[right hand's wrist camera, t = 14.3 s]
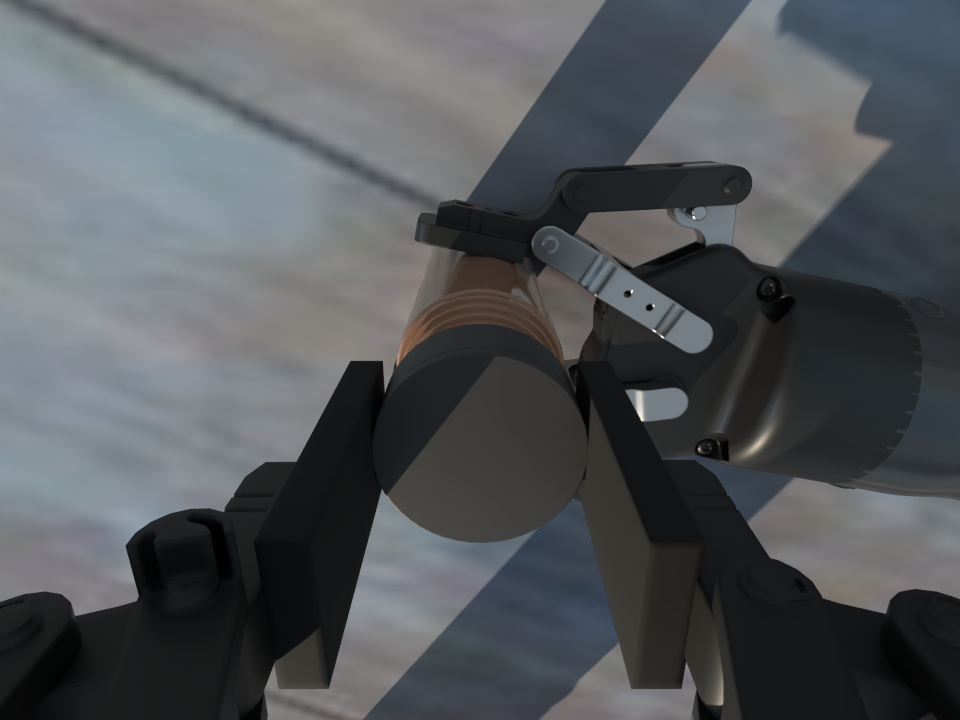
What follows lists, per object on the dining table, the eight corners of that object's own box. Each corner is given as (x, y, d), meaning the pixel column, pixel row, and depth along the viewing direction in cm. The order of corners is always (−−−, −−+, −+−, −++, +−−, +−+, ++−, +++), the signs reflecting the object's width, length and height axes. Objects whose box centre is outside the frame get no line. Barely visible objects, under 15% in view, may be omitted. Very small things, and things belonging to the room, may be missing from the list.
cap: (420, 512, 16) (412, 563, 14) (356, 353, 14) (338, 388, 12) (594, 468, 15) (610, 515, 13) (549, 298, 14) (559, 325, 12)
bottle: (426, 221, 27) (361, 343, 12) (530, 218, 27) (592, 338, 12) (432, 320, 29) (381, 533, 14) (530, 317, 29) (583, 528, 14)
